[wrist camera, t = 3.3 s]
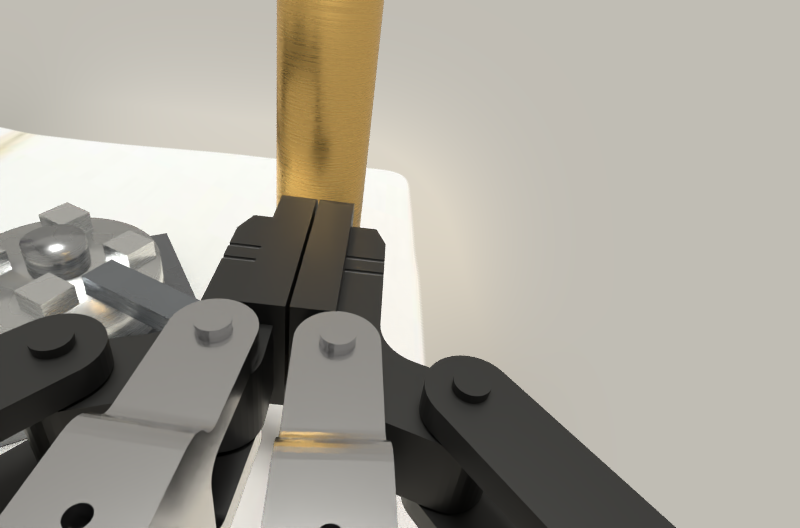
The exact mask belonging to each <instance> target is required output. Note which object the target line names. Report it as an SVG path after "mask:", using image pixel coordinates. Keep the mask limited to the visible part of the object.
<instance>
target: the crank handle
mask: <svg viewBox="0 0 800 528" xmlns="http://www.w3.org/2000/svg"><path fill="white" fill-rule="evenodd" d="M383 5H384V0H277V206H278V204H279V201H280V199H281V197H282V195H287V196H295V197H303V198H312V199H318V204H319V201H320V200H329V201H337V202H346V203H354V217H353V227H359V228H360V221H361V211H362V202H363V192H364V183H365V174H366V164H367V155H368V145H369V136H370V127H371V116H372V108H373V97H374V89H375V80H376V70H377V60H378V51H379V42H380V33H381V23H382V14H383ZM39 218H40V221H41V222H37V223H32V224H28V225H24V226H21V227H18V228H15V229H12V230H9V231H6V232H4V233H1V234H0V334H2V333H4V332H7V331H9V330H11V329H14V328H16V327H19V326H21V325H23V324H26V323H28V322H31V321H33V320H36V319H39V318H42V317H46V316H50V315H56V314H66V313H72V314H82V315H87V316H90V317H93V318H95V319H97V320H98V321H100V322H101V323H102V324H103V325H104V327H105V328H106V331H107V334H108V338H109V339H110V338H119V337H127V336H135V335H143V334H148V333H149V332H150V331H151V330H152V329H153V328H154V329H156V330H158V331H162V330H163V328H164V327H165V325H166V324H167V322H168V321H169V320H170V318H171V317H172V316H173V315H174V314H175V313H176V312H177V311H178V310H180V309H182V308H183V307H185V306H187V305H189V304H191V303H194V302H197V301H200V300H198V299H196V298H194V297H191V296H189V295H187V294H185V293H183V292H181V291H179V290H177V289H174V288H172V287H170V286H168V285H166V284H165V282H164V276H163V269H162V262H161V255H160V250H159V248H158V245H157V244H156V242H155V241H154V240H153V239H152V238H151V237H150V236H149V235H148V234H147V233H145V232H144V231H142V230H140V229H138V228H137V227H134V226H132V225H129V224H126V223H123V222H119V221H115V220H109V219H102V218H90V214H89V212H88V211H85V210H83V209H81V208H79V207H76V206H74V205H72V204H70V203H65V204H62V205H60V206H58V207H55V208H53V209H51V210H48V211H46V212H44V213H42V214H39ZM55 224H66V225H73V226H76V227H79V228H81V229H82V230H83V231H84V232H85V234H86V238H87V243H88V247H89V251H90V255H91V260H92V261H91V264H90V266H89V267H88V269H86V270H85V271H84V272H83V273H81V274H79V275H77V276H75V277H72V278H69V279H65V280H63V279H61V278H59V277H57V276H55V275H53V274H51V273H49V272H48V273H47V274H45V275H43V276H41V277H39V278H37V279H35V278H33V277H32V276H30V275H29V273H28V271H27V268H26V265H25V262H24V259H23V256H22V253H21V250H20V246H19V242H20V240H21V238H22V237H23V236H24V235H25V234H27V233H28V232H30V231H32V230H34V229H37V228H40V227H43V226H48V225H55Z"/></svg>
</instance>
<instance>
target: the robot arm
mask: <svg viewBox="0 0 800 528" xmlns="http://www.w3.org/2000/svg"><path fill="white" fill-rule="evenodd" d="M353 217H354V203H346V202H337V201H329V200H320V201H319V204H318V199H312V198H303V197H295V196H287V195H282V197H281V199H280V201H279V204H278V206H277V209H276V211H275V214H274V216H273V217H265V216H257V215H254V216H253V217H251V218H250V219H248V220H247V221H245V222H244V223H243V224H241V225H240V226H238V227H237V229H236V231H235V233H234V235H233V237H232V239H231V241H230V245H228V247H227V249H226V251H225V253H224V257H223V258H222V259H221V261H220V263H219V265H218V267H217V269H216V271H215V273H214V275H213V277H212V279H211V281H210V283H209V285H208V287H207V289H206V291H205V293H204V295H203V297H202V299H201V301H197V302H194V303H191V304H189V305H187V306H185V307H183V308H182V309H180V310H178V311H177V312H176V313H175V314H174V315H173V316H172V317H171V318H170V320H169V321H168V322H167V324H166V325H165V327H164V328H163V330H162V331H159V332H155V333H150V334H143V335H135V336H127V337H119V338H110V339H109V338H108V334H107V331H106V328H105V327H104V325H103V324H102V323H101V322H100V321H98V320H97V319H95V318H93V317H90V316H87V315H82V314H72V313H66V314H56V315H50V316H46V317H42V318H39V319H36V320H33V321H31V322H28V323H26V324H23V325H21V326H19V327H16V328H14V329H11V330H9V331H7V332H4V333H2V334H0V442H2V441H4V440H6V439H8V438H9V437H11V436H13V435H15V434H17V433H19V432H20V431H22V430H24V432H25V435H26V437H27V439H28V440H27V441H25V442H23V443H21V444H20V445H18V446H16V447H14V448H12V449H11V450H9V451H7V452H5V453H3V454H1V455H0V528H230V527H231V524H232V521H233V519H234V516H235V513H236V510H237V508H238V505H239V502H240V499H241V496H242V494H243V491H244V488H245V485H246V482H247V480H248V477H249V474H250V471H251V468H252V466H253V463H254V460H255V457H256V454H257V452H258V449H259V446H260V443H261V439H262V427H263V424H264V421H265V418H266V414H267V410H268V406H269V404H278V405H284V406H283V413H282V420H281V427H280V433H279V437H276V439H275V442H274V446H273V452H272V458H271V464H270V471H269V478H268V484H267V491H266V497H265V504H264V511H263V517H262V524H261V528H398V521H397V504H396V495H399V496H401V500H402V503H403V506H404V508H405V510H406V511H407V513H408V515H409V516H410V517H411V519H412V520H413V521H414V522H415V524H416V525H417V526H418V528H676V527H674V526H673V525H672V524H671V523H670V522H669V521H668V520H667V519H666V518H665V517H664V516H662V515H661V514H660V513H659V512H658V511H657V510H656V509H655V508H654V507H652V506H651V505H650V504H649V503H648V502H647V501H646V500H645V499H644V498H642V497H641V496H640V495H639V494H638V493H637V492H636V491H635V490H633V489H632V488H631V487H630V486H629V485H628V484H627V483H626V482H625V481H623V480H622V479H621V478H620V477H619V476H618V475H617V474H616V473H615V472H613V471H612V470H611V469H610V468H609V467H608V466H607V465H606V464H605V463H603V462H602V461H601V460H600V459H599V458H598V457H597V456H596V455H595V454H593V453H592V452H591V451H590V450H589V449H588V448H586V446H585V445H583V444H582V443H581V442H580V441H579V440H578V439H577V438H576V437H574V436H573V435H572V434H571V433H570V432H569V431H568V430H567V429H565V428H564V427H563V426H562V425H561V424H560V423H559V422H558V421H557V420H555V419H554V418H553V417H552V416H551V415H550V414H549V413H548V412H547V411H545V410H544V409H543V408H542V407H541V406H540V405H539V404H538V403H537V402H536V401H534V400H533V399H532V398H531V397H530V396H529V395H528V394H527V393H525V392H524V391H523V390H522V389H521V388H520V387H519V386H518V385H516V383H514V382H513V381H512V380H511V379H510V378H509V377H508V376H507V375H505V374H504V373H503V372H502V371H501V370H500V369H498V368H497V367H496V366H494V365H492V364H491V363H489V362H486V361H484V360H482V359H479V358H475V357H470V356H451V357H447V358H444V359H441V360H439V361H438V362H436V363H435V364H434V365H432V366H431V367H430V368H429V367H426V366H423V365H421V364H418V363H415V362H413V361H410V360H408V359H406V358H404V357H402V356H401V355H399V354H398V353H396V352H395V351H394V350H393V349H392V348H391V347H390V346H389V345H388V344H387V343H386V341H385V340H384V338H383V336H382V333H381V329H380V321H381V305H382V290H383V274H384V259H385V243H384V241H383V239H382V238H381V236H380V235H379V233H378V231H377V230H376V229H368V228H359V227H353Z"/></svg>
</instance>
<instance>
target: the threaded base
mask: <svg viewBox="0 0 800 528" xmlns="http://www.w3.org/2000/svg"><path fill="white" fill-rule="evenodd" d="M150 237H151V238H152V239H153V240H154V241H155V242H156V244H157V245H158V248H159V250H160V255H161V262H162V269H163V276H164V282H165V284H166V285H168V286H170V287H172V288H174V289H177V290H179V291H181V292H183V293H185V294H187V295H189V296H191V297H194V298H195V296H194V293H193V291H192V289H191V287H190V284H189V282H188V280H187V278H186V275H185V273H184V271H183V269H182V267H181V264H180V262H179V260H178V258H177V255H176V253H175V251H174V249H173V246H172V244H171V242H170V240H169V238H168V235H167V233H166V234H160V235H154V236H150ZM19 246H20V250H21V253H22V256H23V259H24V262H25V265H26V268H27V271H28V273H29V275H30V276H32V277H33V278H35V279H37V278H39V277H41V276H43V275H45V274H47V273H48V272H49V273H51V274H53V275H55V276H57V277H59V278H61V279H63V280H65V279H69V278H72V277H75V276H77V275H79V274H81V273H83V272H84V271H85V270H86V269H88V267H89V266H90V264H91V261H92V260H91V255H90V251H89V247H88V243H87V238H86V234H85V232H84V231H83V230H82V229H81V228H79V227H76V226H73V225H66V224H55V225H48V226H43V227H40V228H37V229H34V230H32V231H30V232H28V233H27V234H25V235H24V236H23V237H22V238H21V240H20V242H19ZM155 332H159V331H158V330H156V329H154V328H153V329H152V330H151V331H150V332H149V333H148V334H150V333H155ZM23 439H27V437H26V435H25V432H24V430H22V431H20V432H19V433H17V434H15V435H13V436H11V437H9V438H8V439H6V440H4V441H2V442H0V447H1V446H4V445H7V444H10V443H14V442H17V441H20V440H23Z"/></svg>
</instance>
